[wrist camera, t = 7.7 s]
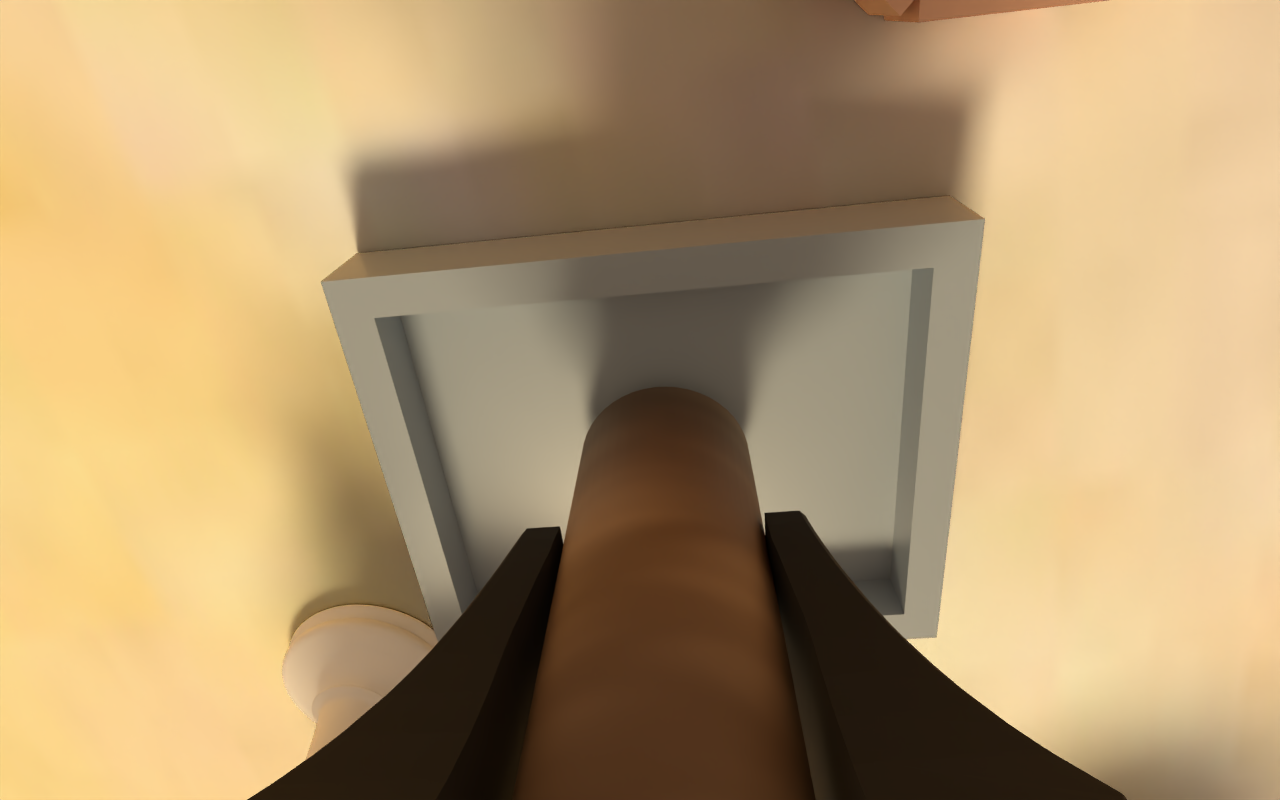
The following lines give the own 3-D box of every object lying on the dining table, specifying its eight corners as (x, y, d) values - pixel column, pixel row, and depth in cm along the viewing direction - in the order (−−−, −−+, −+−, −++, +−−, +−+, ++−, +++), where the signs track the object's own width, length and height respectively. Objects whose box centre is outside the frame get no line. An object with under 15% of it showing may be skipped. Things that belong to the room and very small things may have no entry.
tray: (949, 195, 14) (984, 218, 13) (913, 584, 19) (936, 637, 17) (356, 253, 15) (320, 281, 14) (462, 610, 20) (444, 663, 18)
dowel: (753, 386, 15) (854, 807, 7) (744, 530, 17) (817, 1003, 9) (577, 386, 15) (474, 798, 7) (586, 528, 17) (510, 994, 9)
